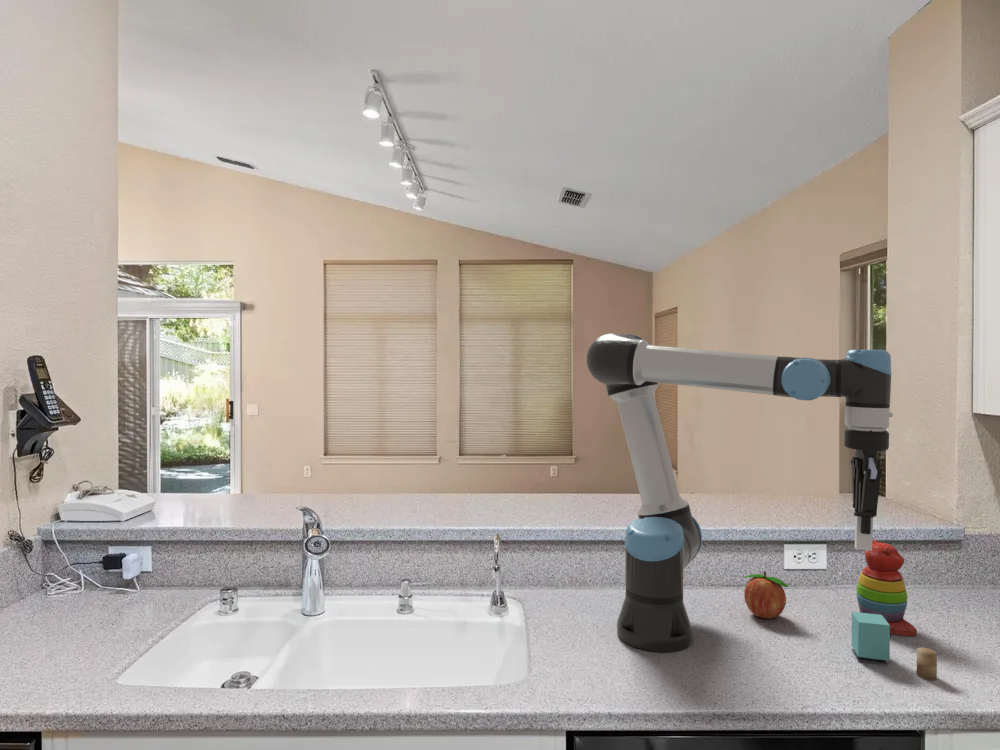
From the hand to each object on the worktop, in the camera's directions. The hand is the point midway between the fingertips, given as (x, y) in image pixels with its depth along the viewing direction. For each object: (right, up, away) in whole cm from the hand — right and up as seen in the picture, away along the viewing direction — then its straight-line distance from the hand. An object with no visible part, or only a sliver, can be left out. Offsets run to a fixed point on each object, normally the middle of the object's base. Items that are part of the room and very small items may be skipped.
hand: (863, 548), depth 122 cm
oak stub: (+6, -20, -10) cm, 23 cm away
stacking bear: (+12, -20, +13) cm, 26 cm away
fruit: (-12, -20, +18) cm, 29 cm away
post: (0, -20, -3) cm, 20 cm away
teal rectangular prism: (0, -19, -3) cm, 19 cm away
